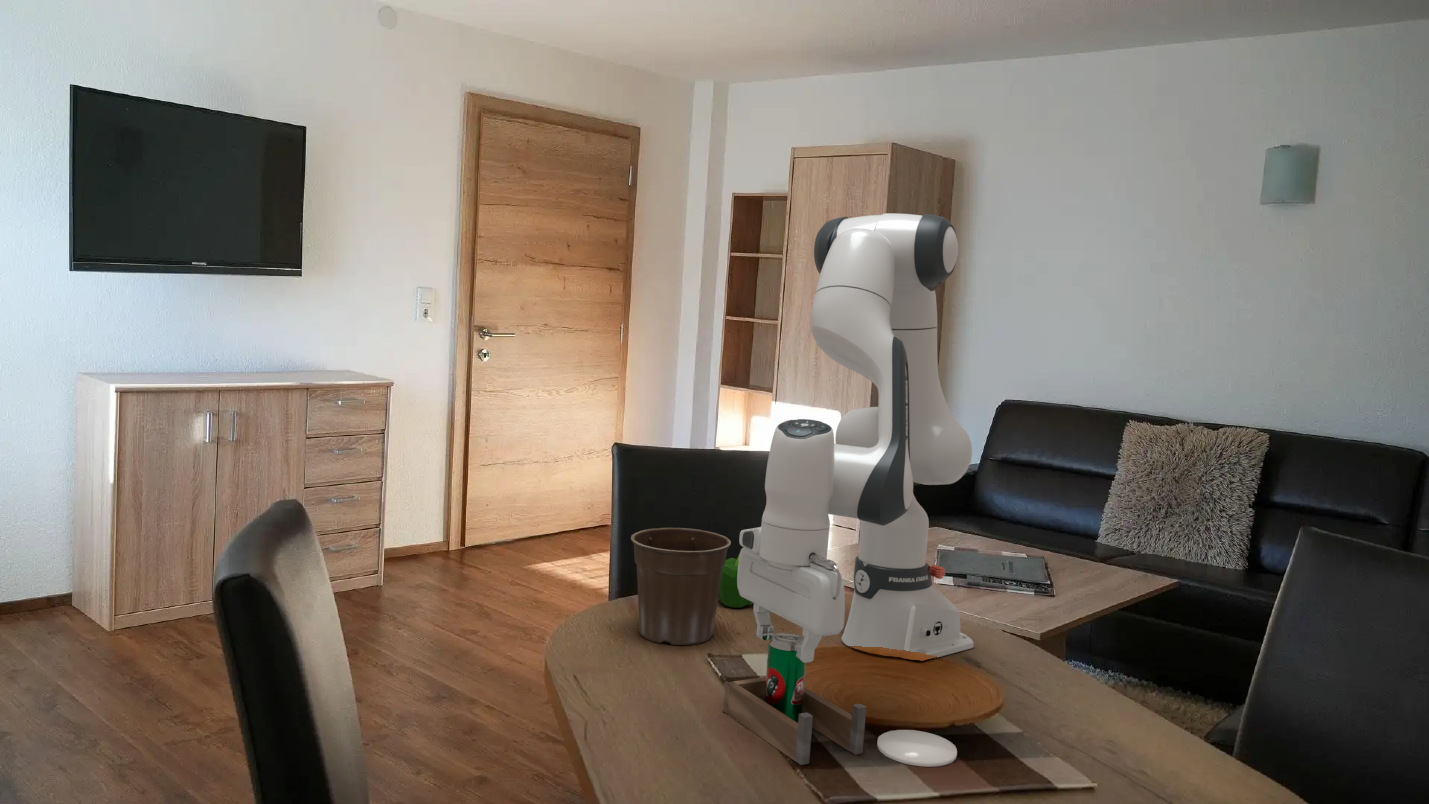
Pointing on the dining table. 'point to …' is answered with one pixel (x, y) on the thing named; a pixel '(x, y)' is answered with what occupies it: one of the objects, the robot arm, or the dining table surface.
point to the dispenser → (786, 733)
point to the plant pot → (678, 583)
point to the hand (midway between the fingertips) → (784, 649)
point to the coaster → (917, 748)
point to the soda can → (785, 675)
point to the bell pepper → (731, 586)
